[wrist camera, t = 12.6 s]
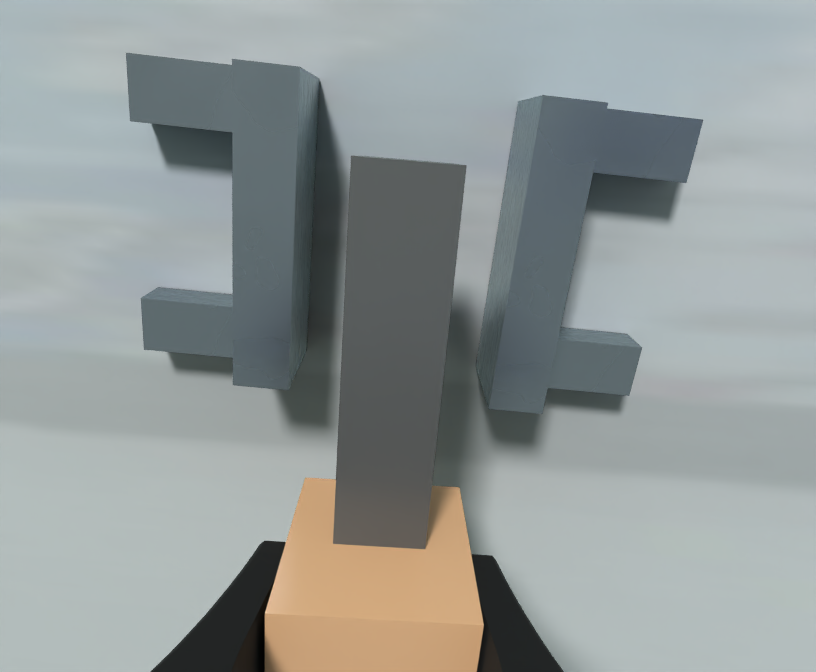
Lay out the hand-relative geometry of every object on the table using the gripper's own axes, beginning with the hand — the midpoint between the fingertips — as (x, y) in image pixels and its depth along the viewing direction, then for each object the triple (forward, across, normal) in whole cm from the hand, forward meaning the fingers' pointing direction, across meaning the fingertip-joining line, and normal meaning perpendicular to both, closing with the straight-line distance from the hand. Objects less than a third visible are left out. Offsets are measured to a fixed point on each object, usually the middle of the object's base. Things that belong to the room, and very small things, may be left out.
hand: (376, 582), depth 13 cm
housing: (+7, 0, -7) cm, 10 cm away
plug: (+2, 0, -3) cm, 3 cm away
